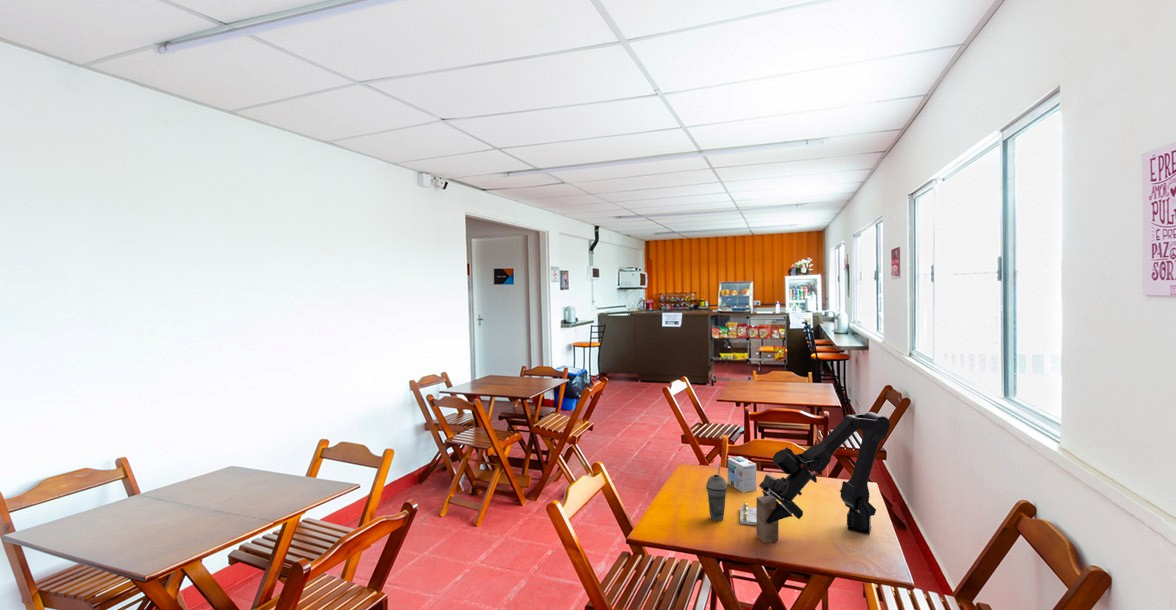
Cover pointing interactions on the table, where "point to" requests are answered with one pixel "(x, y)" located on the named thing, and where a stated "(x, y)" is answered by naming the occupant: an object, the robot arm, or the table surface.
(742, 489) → the light bulb box
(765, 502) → the walnut block
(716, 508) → the beverage cup
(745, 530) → the table surface
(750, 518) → the plate
